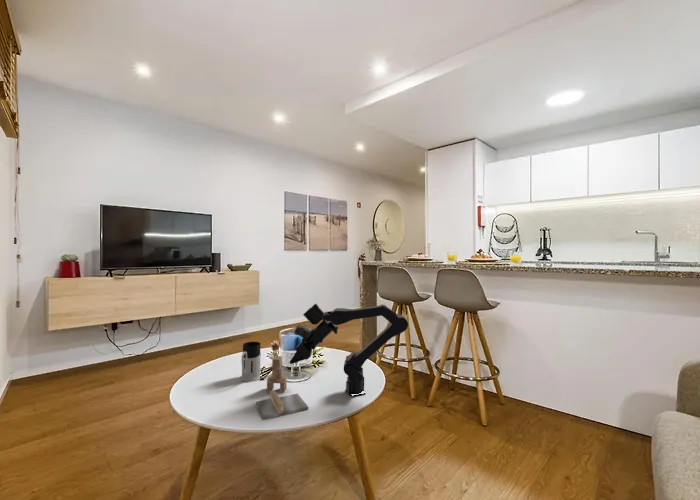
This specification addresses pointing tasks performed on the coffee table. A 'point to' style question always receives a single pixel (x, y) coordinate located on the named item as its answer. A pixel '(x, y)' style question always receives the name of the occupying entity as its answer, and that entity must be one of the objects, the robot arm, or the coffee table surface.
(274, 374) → the wooden block
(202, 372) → the coffee table surface
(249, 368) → the glass holder
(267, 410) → the cross plate base
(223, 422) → the coffee table surface
